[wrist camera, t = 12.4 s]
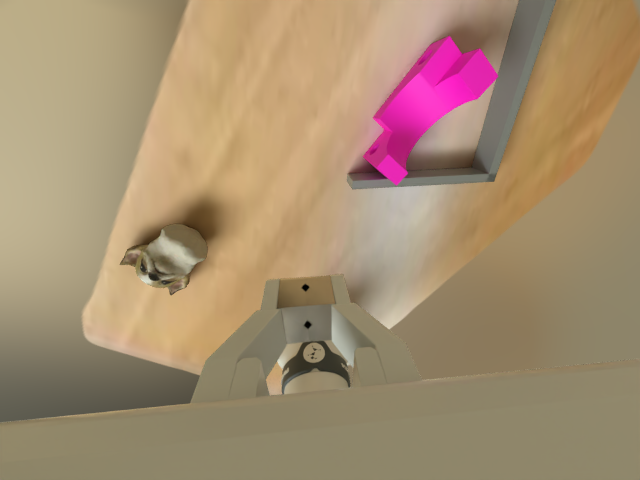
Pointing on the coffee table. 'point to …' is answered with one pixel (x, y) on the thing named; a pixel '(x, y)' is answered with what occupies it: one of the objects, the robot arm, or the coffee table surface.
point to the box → (501, 111)
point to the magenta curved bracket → (426, 102)
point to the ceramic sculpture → (168, 257)
